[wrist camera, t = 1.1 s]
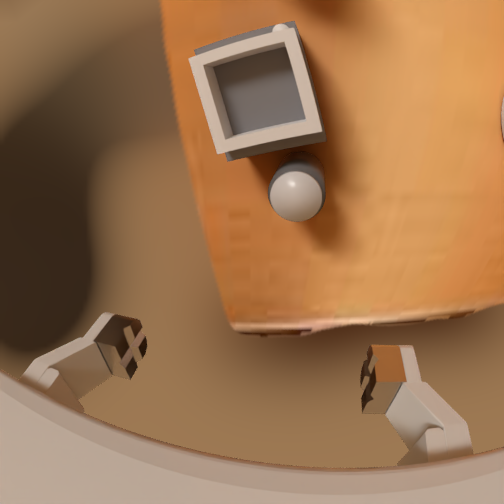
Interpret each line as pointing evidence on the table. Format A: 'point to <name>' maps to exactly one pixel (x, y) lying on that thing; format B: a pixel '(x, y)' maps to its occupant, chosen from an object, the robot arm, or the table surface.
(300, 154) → the lens
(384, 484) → the robot arm
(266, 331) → the table surface
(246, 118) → the camera body
